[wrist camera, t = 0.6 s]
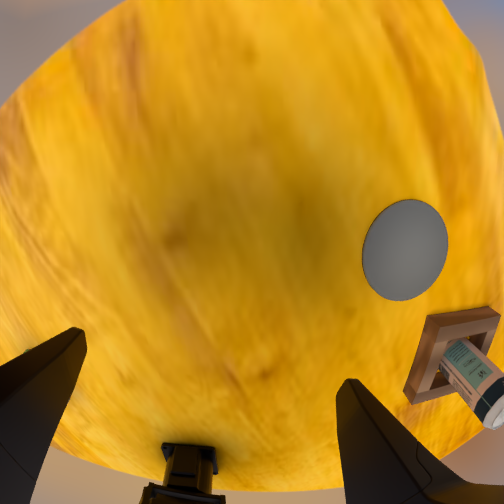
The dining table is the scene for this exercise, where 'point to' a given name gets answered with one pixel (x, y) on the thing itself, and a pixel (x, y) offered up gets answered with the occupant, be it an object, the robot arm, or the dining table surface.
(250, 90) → the dining table surface
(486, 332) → the socket block
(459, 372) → the beer can
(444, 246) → the coaster
